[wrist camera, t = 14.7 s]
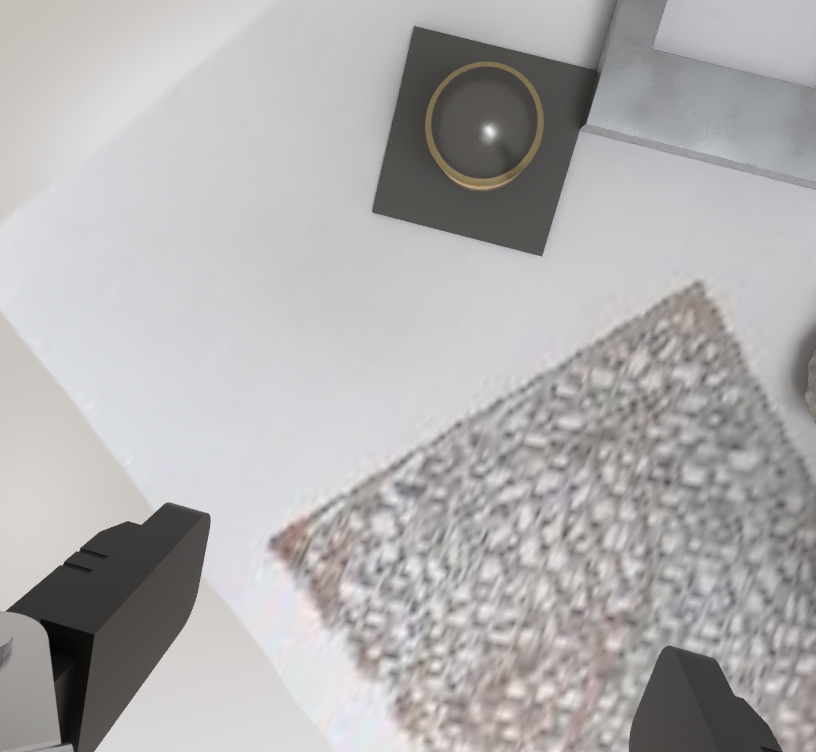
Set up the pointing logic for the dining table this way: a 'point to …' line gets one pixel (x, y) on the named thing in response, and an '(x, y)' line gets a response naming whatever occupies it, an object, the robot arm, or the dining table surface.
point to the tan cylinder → (484, 125)
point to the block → (698, 104)
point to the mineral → (811, 387)
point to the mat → (435, 192)
